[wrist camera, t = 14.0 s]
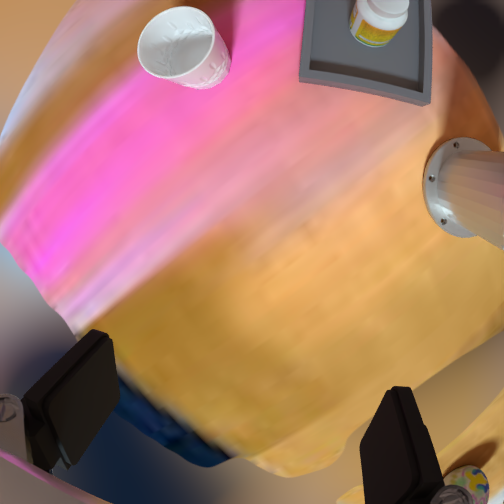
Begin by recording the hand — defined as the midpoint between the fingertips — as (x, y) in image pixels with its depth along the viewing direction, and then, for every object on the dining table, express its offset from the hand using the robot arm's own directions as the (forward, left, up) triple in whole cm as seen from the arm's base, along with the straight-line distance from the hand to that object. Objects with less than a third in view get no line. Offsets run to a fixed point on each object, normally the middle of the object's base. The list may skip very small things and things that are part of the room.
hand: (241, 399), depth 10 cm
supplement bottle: (-7, -24, -30) cm, 39 cm away
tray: (-7, -25, -30) cm, 40 cm away
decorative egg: (-50, +51, -31) cm, 78 cm away
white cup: (+12, -18, -31) cm, 37 cm away
